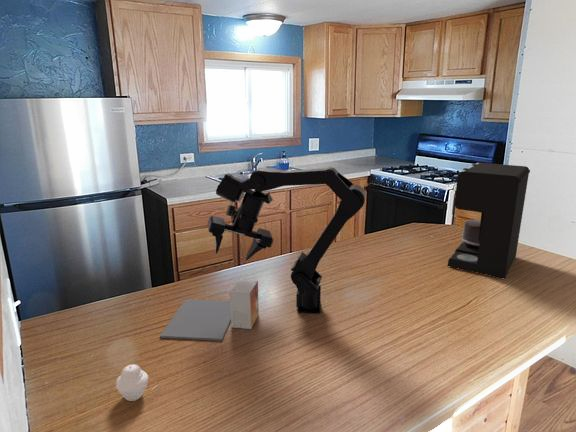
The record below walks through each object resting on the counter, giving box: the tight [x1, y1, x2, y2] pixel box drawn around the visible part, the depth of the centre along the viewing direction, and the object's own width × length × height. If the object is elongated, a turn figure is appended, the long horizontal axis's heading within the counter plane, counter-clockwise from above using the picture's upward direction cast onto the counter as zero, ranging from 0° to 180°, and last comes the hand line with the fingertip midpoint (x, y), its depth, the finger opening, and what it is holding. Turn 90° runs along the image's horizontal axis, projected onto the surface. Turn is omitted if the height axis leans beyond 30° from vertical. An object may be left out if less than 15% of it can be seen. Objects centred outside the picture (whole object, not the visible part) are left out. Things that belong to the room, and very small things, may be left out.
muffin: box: [115, 364, 149, 402], centre depth 83 cm, size 6×6×7 cm
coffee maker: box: [447, 162, 531, 280], centre depth 149 cm, size 28×20×35 cm
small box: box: [229, 279, 260, 330], centre depth 111 cm, size 8×6×10 cm
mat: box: [159, 298, 231, 342], centre depth 113 cm, size 16×20×1 cm
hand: (231, 256), depth 120 cm, fingers open, 9 cm apart
